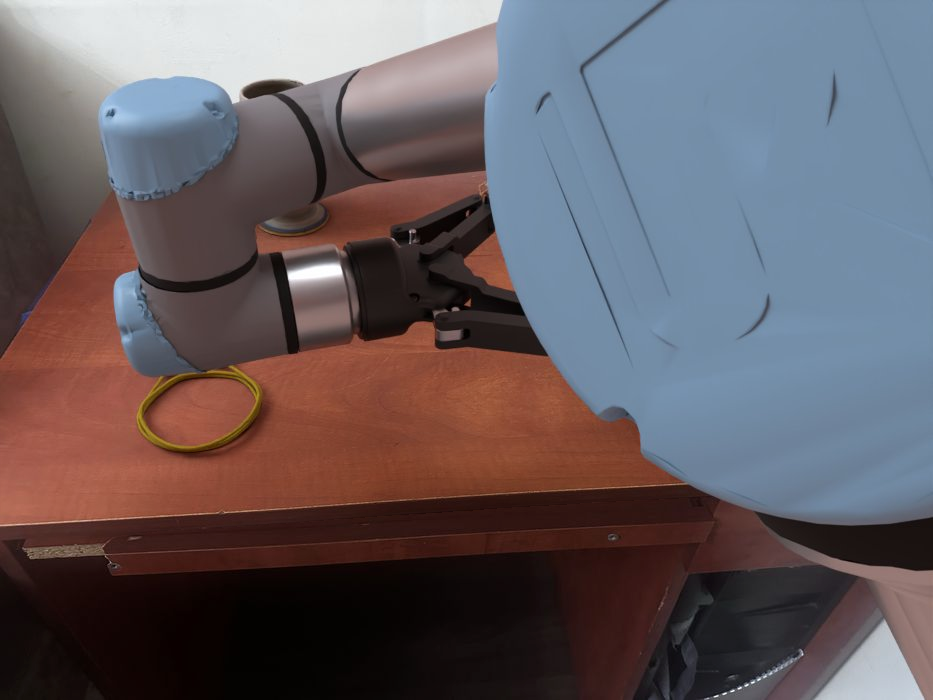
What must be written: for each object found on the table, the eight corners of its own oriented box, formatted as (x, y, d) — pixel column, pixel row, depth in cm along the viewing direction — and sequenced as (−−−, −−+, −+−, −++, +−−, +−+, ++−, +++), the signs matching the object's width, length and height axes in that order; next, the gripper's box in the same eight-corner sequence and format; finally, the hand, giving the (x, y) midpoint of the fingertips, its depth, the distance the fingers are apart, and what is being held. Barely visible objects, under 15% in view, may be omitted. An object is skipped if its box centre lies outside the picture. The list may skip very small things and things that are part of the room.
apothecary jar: (235, 210, 100) (210, 81, 88) (314, 190, 105) (301, 66, 93) (267, 250, 92) (245, 114, 80) (351, 226, 97) (341, 96, 86)
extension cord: (274, 346, 77) (271, 331, 76) (253, 454, 65) (249, 439, 64) (158, 348, 76) (154, 334, 75) (115, 459, 64) (109, 444, 63)
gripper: (322, 249, 64) (538, 219, 70) (391, 448, 46) (673, 385, 52) (314, 172, 59) (547, 146, 65) (388, 361, 41) (699, 302, 47)
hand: (603, 252), depth 58 cm, fingers open, 13 cm apart
